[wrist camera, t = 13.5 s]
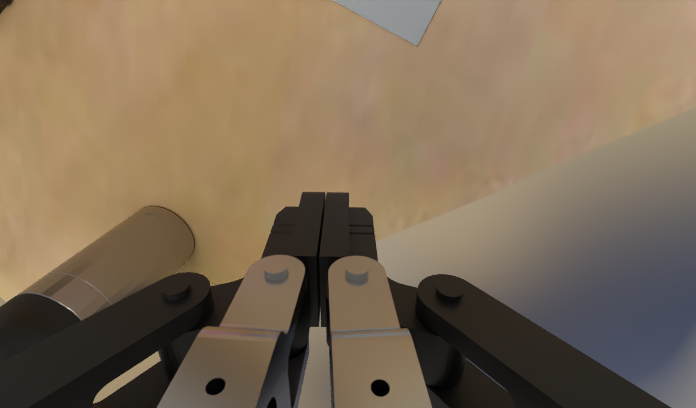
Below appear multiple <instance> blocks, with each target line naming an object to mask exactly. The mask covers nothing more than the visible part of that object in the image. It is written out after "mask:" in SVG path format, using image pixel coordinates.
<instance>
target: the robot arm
mask: <svg viewBox="0 0 696 408" xmlns="http://www.w3.org/2000/svg"><path fill="white" fill-rule="evenodd" d="M193 250H194V239H193V236H192V233H191V231H190V229H189V228H188V226H187V225H186V224H185V223H184V222H183V220H182V219H180V218H179V217H178V216H177V215H176V214H174V213H172V212H171V211H169V210H166V209H164V208H161V207H156V206H149V207H144V208H143V209H141V210H139V211H138V212H136V213H135V214H133V215H132V216H130V217H129V218H128V219H126V220H125V221H123V222H122V223H120V224H119V225H117V226H116V227H114V228H113V229H111V230H110V231H109V232H107V233H106V234H104V235H103V236H101V237H100V238H99V239H97V240H96V241H94V242H93V243H91V244H90V245H88V246H87V247H86V248H84V249H83V250H81V251H80V252H78V253H77V254H76V255H74V256H73V257H71V258H70V259H68V260H67V261H65V262H64V263H63V264H61V265H60V266H58V267H57V268H55V269H54V270H53V271H51V272H50V273H48V274H47V275H45V276H44V277H43V278H41V279H40V280H38V281H37V282H35V283H34V284H33V285H31V286H30V287H28V288H27V289H25V290H24V291H23V292H21V293H20V294H18V295H17V296H15V297H14V298H12V299H11V300H9V301H8V302H7V303H5V304H4V305H2V306H1V307H0V408H298V404H299V399H300V395H301V390H302V385H303V380H304V375H305V370H306V365H307V361H308V356H309V328H310V327H319V318H320V307H321V327H326V333H327V344H328V346H329V357H330V385H331V408H671V407H669V406H667V405H666V404H664V403H663V402H661V401H660V400H658V399H656V398H655V397H653V396H651V395H649V394H648V393H647V392H645V391H643V390H642V389H640V388H639V387H637V386H635V385H634V384H632V383H630V382H629V381H627V380H626V379H624V378H622V377H621V376H619V375H618V374H616V373H614V372H613V371H611V370H609V369H607V368H606V367H605V366H603V365H601V364H600V363H598V362H597V361H595V360H593V359H592V358H590V357H588V356H587V355H585V354H584V353H582V352H580V351H579V350H577V349H575V348H574V347H572V346H571V345H569V344H567V343H566V342H564V341H563V340H561V339H559V338H558V337H556V336H554V335H553V334H551V333H550V332H548V331H546V330H545V329H543V328H542V327H540V326H538V325H537V324H535V323H533V322H531V321H530V320H529V319H527V318H525V317H524V316H522V315H521V314H519V313H517V312H515V311H514V310H512V309H511V308H509V307H508V306H506V305H504V304H503V303H501V302H500V301H498V300H496V299H495V298H493V297H491V296H490V295H488V294H487V293H485V292H483V291H482V290H480V289H479V288H477V287H475V286H473V285H472V284H470V283H469V282H467V281H465V280H463V279H461V278H459V277H456V276H451V275H445V274H437V275H432V276H429V277H427V278H425V279H423V280H422V281H421V282H420V284H419V286H418V288H416V287H411V286H407V285H404V284H400V283H397V282H395V281H393V280H391V279H389V278H388V277H387V276H386V272H385V269H384V268H383V266H382V265H381V264H380V263H379V262H378V258H377V250H376V241H375V235H374V225H373V216H372V215H371V214H370V213H369V211H368V210H367V209H366V208H355V207H349V193H334V192H327V194H326V197H325V192H303V193H302V196H301V200H300V204H299V207H285V208H284V209H283V210H281V211H280V212H279V213H278V214H277V215H276V218H275V221H274V224H273V226H272V229H271V233H270V235H269V238H268V241H267V243H266V246H265V249H264V252H263V255H262V258H261V259H260V260H258V261H256V262H255V263H254V264H252V265H251V266H250V268H249V269H248V271H247V273H246V275H245V277H244V278H242V279H239V280H237V281H234V282H230V283H225V284H220V285H215V286H210V282H209V280H208V279H207V278H206V277H205V276H203V275H201V274H198V273H192V272H186V273H178V274H174V272H175V271H176V270H177V269H178V268H179V267H180V266H181V265H182V264H183V263H184V262H185V261H186V260H187V259H188V258H189V257H190V256H191V255H192V253H193ZM172 274H174V275H172ZM157 351H158V352H159V355H160V359H161V361H160V362H158V363H157V364H155V365H154V366H152V367H151V368H149V369H148V370H147V371H145V372H143V373H142V374H140V375H139V376H138V377H136V378H135V379H133V380H132V381H130V382H129V383H127V384H126V385H124V386H123V387H121V388H120V389H118V390H117V391H115V392H114V393H112V394H111V395H109V396H108V397H107V398H105V399H103V400H102V401H100V402H97V403H94V404H93V401H94V398H95V396H96V395H97V393H98V392H99V391H100V390H101V389H102V388H103V387H104V386H105V385H106V384H108V383H109V382H111V381H112V380H114V379H115V378H117V377H118V376H120V375H121V374H123V373H125V372H126V371H128V370H129V369H131V368H132V367H134V366H135V365H137V364H138V363H140V362H142V361H143V360H144V359H146V358H148V357H149V356H151V355H152V354H154V353H155V352H157ZM467 358H468V359H469V360H470V361H472V362H473V363H474V364H475V365H476V366H478V367H479V368H480V369H482V370H483V371H484V372H485V373H487V374H488V375H489V376H490V377H492V378H493V379H494V380H495V381H497V382H498V383H499V384H501V385H502V386H503V387H504V388H505V389H506V390H507V391H508V392H507V391H505V390H504V389H503V388H502V387H501V386H499V385H498V384H497V383H496V382H494V381H493V380H492V379H491V378H489V377H488V376H487V375H485V374H484V373H483V372H481V371H480V370H479V369H478V368H477V367H475V366H474V365H473V364H472V363H470V362H469V361H468V360H467Z"/></svg>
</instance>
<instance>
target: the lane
mask: <svg viewBox="0 0 696 408" xmlns="http://www.w3.org/2000/svg"><path fill="white" fill-rule="evenodd" d="M333 1H335V2H337V3H339V4H341V5H342V6H344V7H346V8H348V9H350V10H352V11H353V12H355V13H357V14H359V15H361V16H363V17H364V18H366V19H368V20H370V21H372V22H374V23H375V24H377V25H379V26H381V27H383V28H385V29H386V30H388V31H390V32H392V33H394V34H396V35H397V36H399V37H401V38H403V39H405V40H407V41H408V42H410V43H412V44H414V45H416V46H417V45H418V43H419V41H420V40H421V38H422V36H423V34H424V32H425V30H426V28H427V26H428V24H429V22H430V21H431V19H432V17H433V15H434V13H435V11H436V9H437V7H438V5H439V3H440V2H441V0H333Z"/></svg>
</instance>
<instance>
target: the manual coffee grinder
mask: <svg viewBox="0 0 696 408" xmlns="http://www.w3.org/2000/svg"><path fill="white" fill-rule="evenodd" d="M7 1H8V0H0V11H1V10H2V8H3V7H4V6H5V5H6V3H7Z"/></svg>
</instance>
